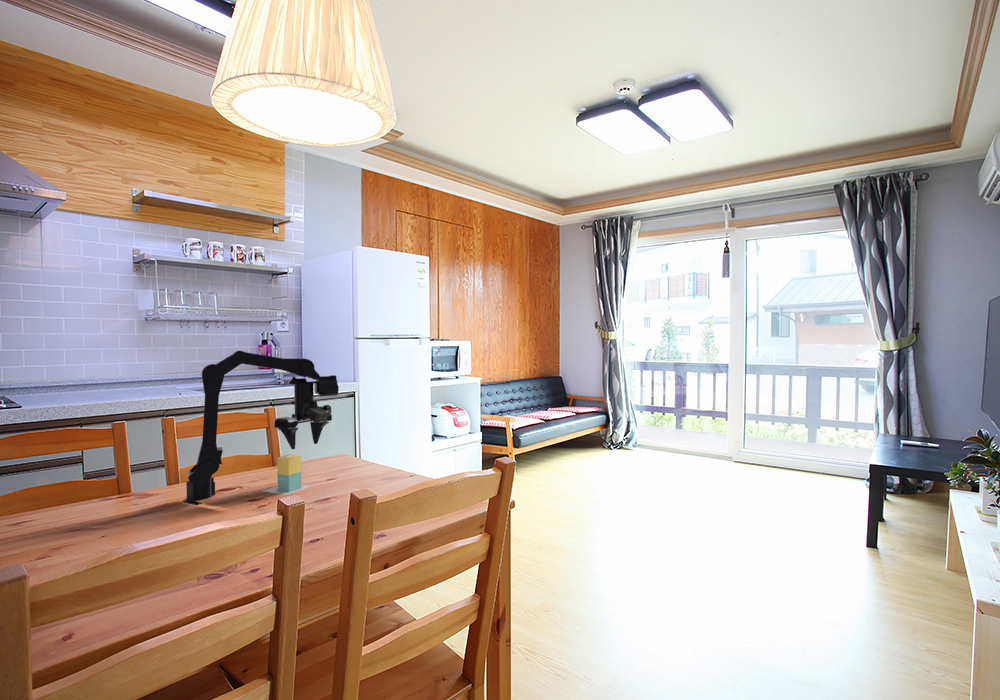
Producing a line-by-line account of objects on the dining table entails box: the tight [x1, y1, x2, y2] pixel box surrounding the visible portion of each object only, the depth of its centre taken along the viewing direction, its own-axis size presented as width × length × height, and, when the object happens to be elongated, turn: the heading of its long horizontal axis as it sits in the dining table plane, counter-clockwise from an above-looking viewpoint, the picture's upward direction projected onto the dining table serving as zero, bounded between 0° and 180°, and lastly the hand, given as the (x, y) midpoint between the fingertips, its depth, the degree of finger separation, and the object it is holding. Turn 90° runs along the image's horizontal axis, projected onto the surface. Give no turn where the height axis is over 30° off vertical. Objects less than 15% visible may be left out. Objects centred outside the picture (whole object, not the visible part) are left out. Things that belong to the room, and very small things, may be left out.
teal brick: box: [277, 471, 303, 492], centre depth 155 cm, size 5×5×5 cm
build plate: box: [263, 484, 312, 496], centre depth 156 cm, size 10×10×1 cm
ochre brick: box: [276, 453, 302, 475], centre depth 155 cm, size 5×5×5 cm
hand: (304, 446), depth 162 cm, fingers open, 9 cm apart
